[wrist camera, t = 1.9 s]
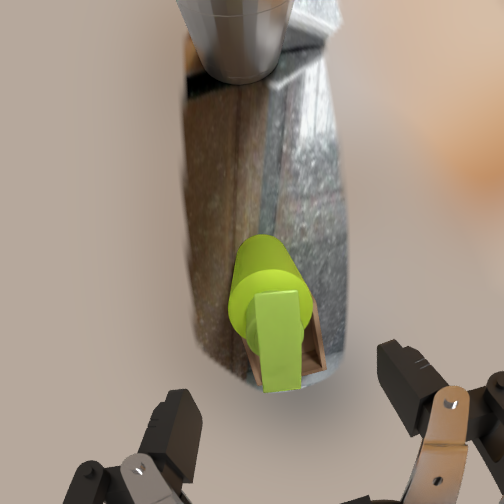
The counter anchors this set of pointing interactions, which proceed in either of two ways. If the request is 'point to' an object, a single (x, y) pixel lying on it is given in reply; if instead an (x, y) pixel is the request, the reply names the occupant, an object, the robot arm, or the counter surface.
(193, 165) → the counter surface
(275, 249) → the soap dispenser
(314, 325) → the walnut caddy
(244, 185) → the counter surface
